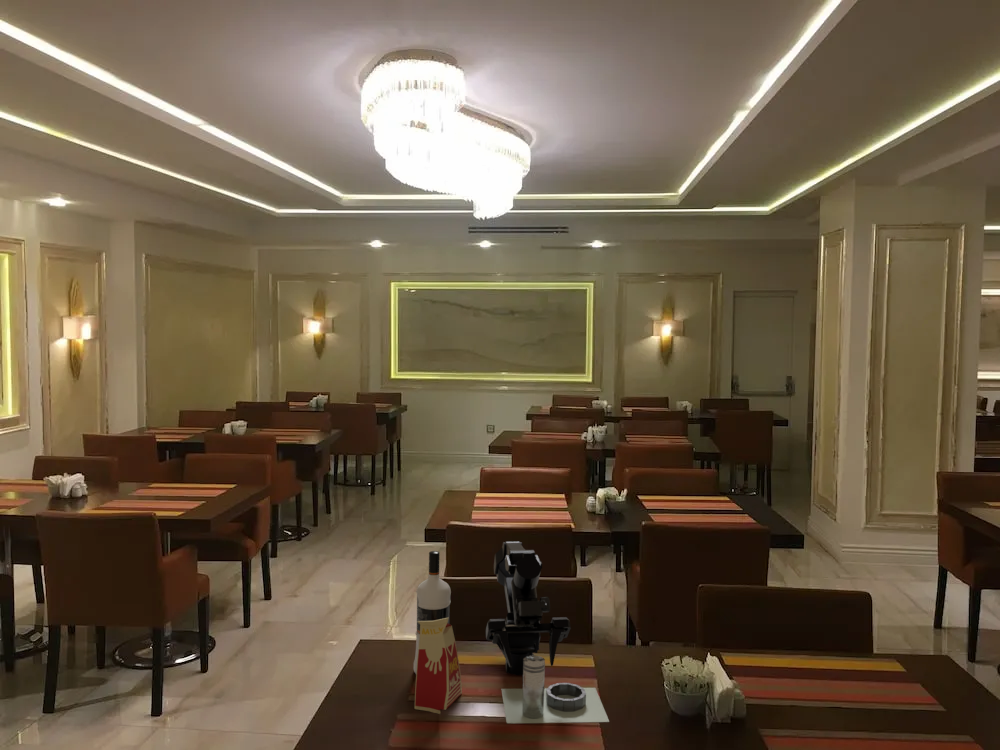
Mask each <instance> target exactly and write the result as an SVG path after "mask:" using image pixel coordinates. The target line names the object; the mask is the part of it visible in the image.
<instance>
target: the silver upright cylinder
mask: <svg viewBox="0 0 1000 750" xmlns="http://www.w3.org/2000/svg"><path fill="white" fill-rule="evenodd" d="M545 669H546V659H545V658H544V657H543V656H540V655H535V654H534V655H532V656H527V657H525V658H524V659H523V675H522V689H523V702H522V715H523V716H524V717H526V718H529V719H538V718H541V717H542V716H543V712H544V688H545V671H546V670H545Z"/></svg>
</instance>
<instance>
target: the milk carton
mask: <svg viewBox="0 0 1000 750" xmlns="http://www.w3.org/2000/svg"><path fill="white" fill-rule="evenodd" d="M448 618H449V619H450V616H449V617H448ZM448 618H444V619H439V620H434V621H417V620H416V623H417V622H418V623H419V624H420V640H419V649H418V659H417V672H416V673H415V685H414V686H415V687H414V688H415V689H414V710H417V711H418V710H420V711H426V712H431V713H434V714H439V715H441V710H442V711H443V710H447V709H448V708H449V707H451V705H452V704H453V703H454V702H455V701H456V700H457V699H458V698H459V697H460V696H461V695H462V694H463V689H462V688H463V687H462V685H463V684H462V674H461V668H460V661H459V655H458V649H457V643H456V639H455V635H454V630H453V625H451V624H450V623H449V624H448Z"/></svg>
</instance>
